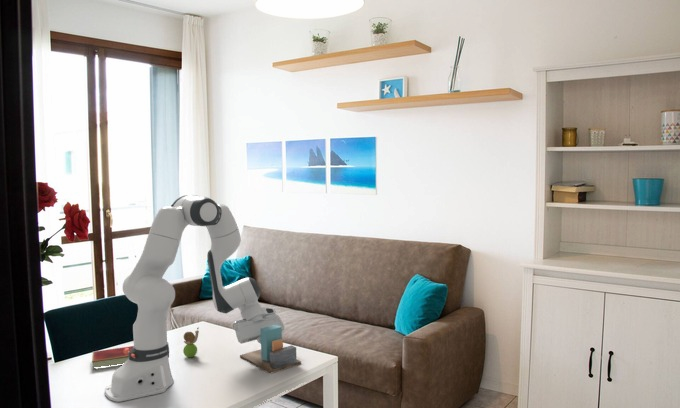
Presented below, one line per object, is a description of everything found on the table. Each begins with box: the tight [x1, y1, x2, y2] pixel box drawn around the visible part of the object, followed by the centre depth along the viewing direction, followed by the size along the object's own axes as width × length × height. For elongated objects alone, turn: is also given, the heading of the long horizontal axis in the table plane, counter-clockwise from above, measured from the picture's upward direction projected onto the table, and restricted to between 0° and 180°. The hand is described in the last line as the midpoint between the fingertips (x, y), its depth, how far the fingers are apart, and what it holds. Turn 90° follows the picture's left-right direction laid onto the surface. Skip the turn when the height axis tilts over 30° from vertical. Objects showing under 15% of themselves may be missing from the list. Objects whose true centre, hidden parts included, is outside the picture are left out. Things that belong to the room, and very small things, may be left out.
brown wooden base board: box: [239, 348, 302, 374], centre depth 208 cm, size 14×22×1 cm, turn 40°
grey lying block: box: [270, 345, 298, 370], centre depth 200 cm, size 10×3×6 cm, turn 130°
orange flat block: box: [272, 338, 284, 351], centre depth 205 cm, size 9×2×8 cm, turn 130°
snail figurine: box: [182, 326, 200, 358], centre depth 213 cm, size 5×6×12 cm
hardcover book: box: [91, 345, 134, 368], centre depth 211 cm, size 12×21×4 cm, turn 114°
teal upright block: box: [260, 325, 283, 361], centre depth 206 cm, size 7×6×12 cm
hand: (267, 346), depth 208 cm, fingers closed, pressing on teal upright block
